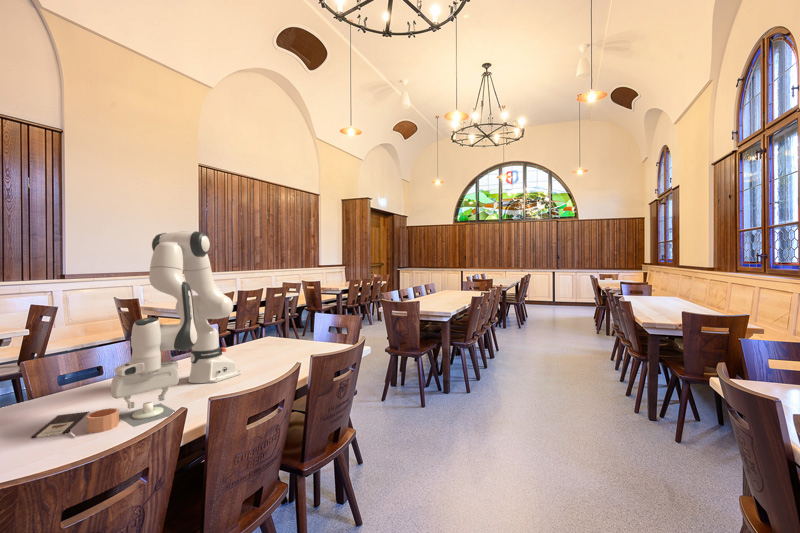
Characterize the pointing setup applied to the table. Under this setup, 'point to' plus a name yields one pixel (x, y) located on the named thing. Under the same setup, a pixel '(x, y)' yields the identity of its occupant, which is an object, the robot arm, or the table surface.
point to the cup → (102, 420)
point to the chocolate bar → (60, 424)
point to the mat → (137, 422)
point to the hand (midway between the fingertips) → (146, 403)
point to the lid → (147, 411)
